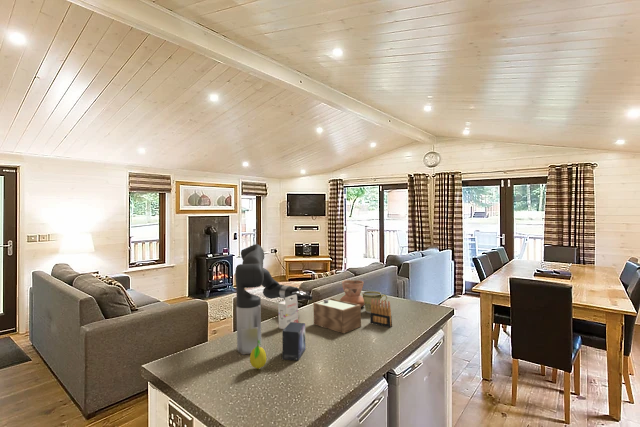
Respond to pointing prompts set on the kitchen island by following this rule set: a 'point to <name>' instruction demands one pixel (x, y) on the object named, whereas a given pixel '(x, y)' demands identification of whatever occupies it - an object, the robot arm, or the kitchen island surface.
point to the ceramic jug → (353, 291)
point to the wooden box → (338, 317)
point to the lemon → (258, 357)
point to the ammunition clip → (380, 313)
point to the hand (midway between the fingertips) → (311, 297)
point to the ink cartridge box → (288, 311)
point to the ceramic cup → (368, 297)
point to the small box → (293, 341)
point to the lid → (336, 304)
